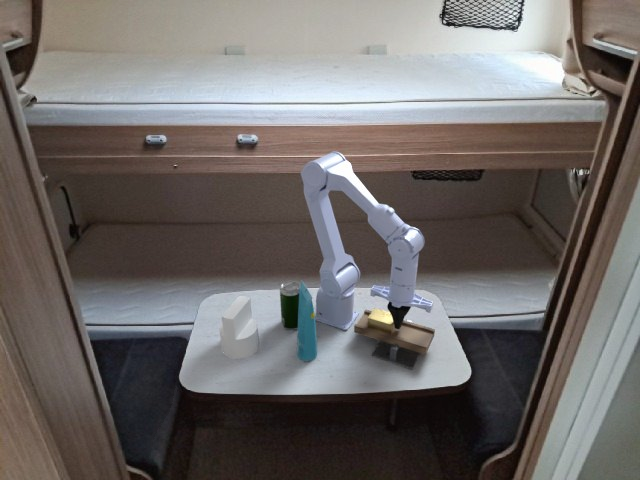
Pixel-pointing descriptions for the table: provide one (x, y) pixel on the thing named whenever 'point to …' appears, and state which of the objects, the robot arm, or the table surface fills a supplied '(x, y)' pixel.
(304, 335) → the tube
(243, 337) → the base with upright slab
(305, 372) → the table surface
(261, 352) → the table surface
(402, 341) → the beam
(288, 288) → the beer can
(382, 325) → the rider
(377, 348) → the beam stand
